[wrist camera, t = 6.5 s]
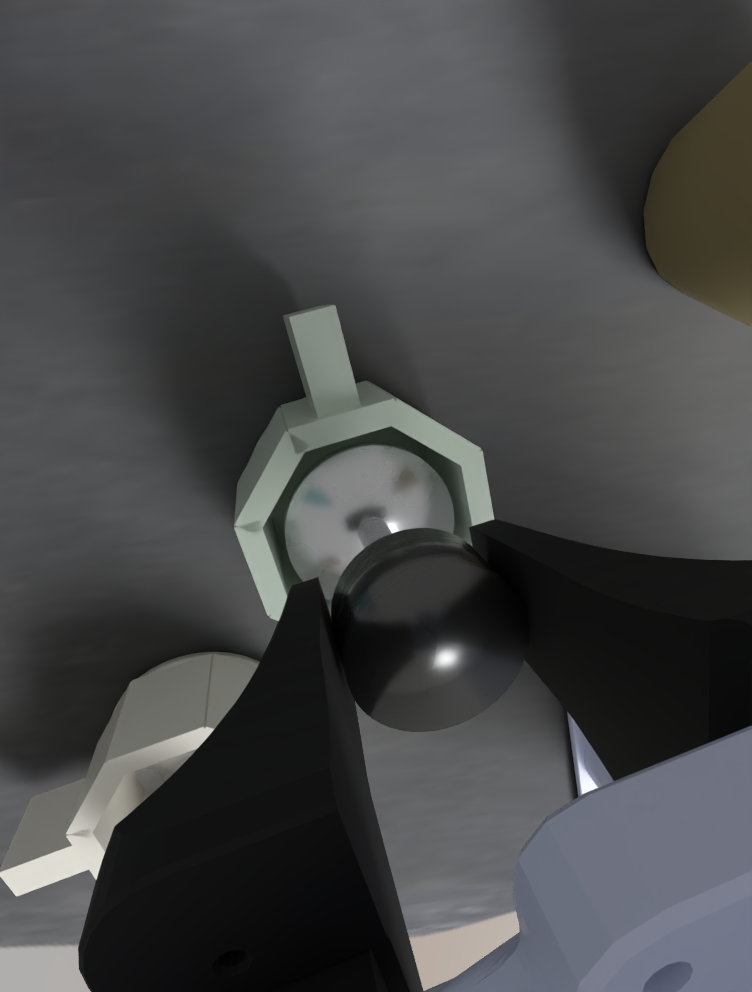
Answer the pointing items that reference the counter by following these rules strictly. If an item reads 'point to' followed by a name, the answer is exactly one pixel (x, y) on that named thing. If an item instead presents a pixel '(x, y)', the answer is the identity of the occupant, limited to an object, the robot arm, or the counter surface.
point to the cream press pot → (123, 766)
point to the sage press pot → (330, 426)
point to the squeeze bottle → (707, 204)
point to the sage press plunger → (404, 588)
